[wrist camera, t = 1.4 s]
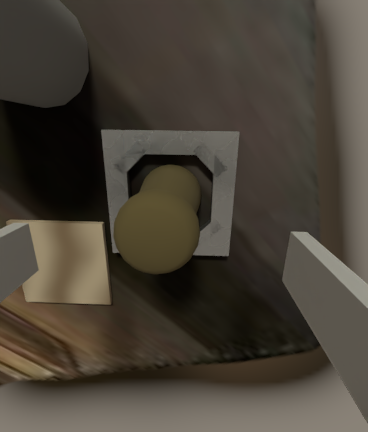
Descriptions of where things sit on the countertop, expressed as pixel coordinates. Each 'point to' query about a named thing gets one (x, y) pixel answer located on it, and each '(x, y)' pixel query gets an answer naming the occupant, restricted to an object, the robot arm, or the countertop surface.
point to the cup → (41, 53)
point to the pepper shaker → (160, 221)
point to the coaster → (68, 263)
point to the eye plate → (176, 145)
